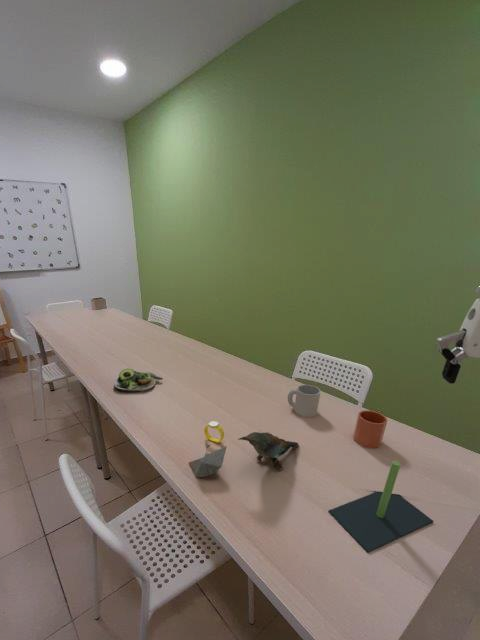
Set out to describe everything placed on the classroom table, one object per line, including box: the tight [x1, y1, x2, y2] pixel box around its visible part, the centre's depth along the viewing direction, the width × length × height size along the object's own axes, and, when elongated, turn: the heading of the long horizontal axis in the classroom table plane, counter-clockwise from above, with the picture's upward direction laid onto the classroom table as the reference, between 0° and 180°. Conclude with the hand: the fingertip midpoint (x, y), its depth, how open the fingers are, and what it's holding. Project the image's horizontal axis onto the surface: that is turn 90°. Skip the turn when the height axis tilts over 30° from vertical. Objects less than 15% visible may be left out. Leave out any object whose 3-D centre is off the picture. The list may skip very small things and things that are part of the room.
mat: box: [328, 490, 434, 554], centre depth 63 cm, size 18×10×1 cm, turn 110°
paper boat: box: [188, 444, 228, 478], centre depth 77 cm, size 12×6×9 cm
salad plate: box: [113, 368, 164, 393], centre depth 125 cm, size 19×18×5 cm
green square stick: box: [376, 460, 401, 518], centre depth 61 cm, size 1×1×14 cm
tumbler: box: [352, 409, 388, 449], centre depth 85 cm, size 7×7×8 cm
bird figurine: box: [237, 431, 300, 472], centre depth 78 cm, size 13×10×20 cm
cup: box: [287, 384, 321, 418], centre depth 100 cm, size 7×10×9 cm
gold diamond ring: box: [203, 420, 225, 444], centre depth 88 cm, size 6×3×6 cm, turn 57°
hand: (477, 382), depth 58 cm, fingers open, 9 cm apart
